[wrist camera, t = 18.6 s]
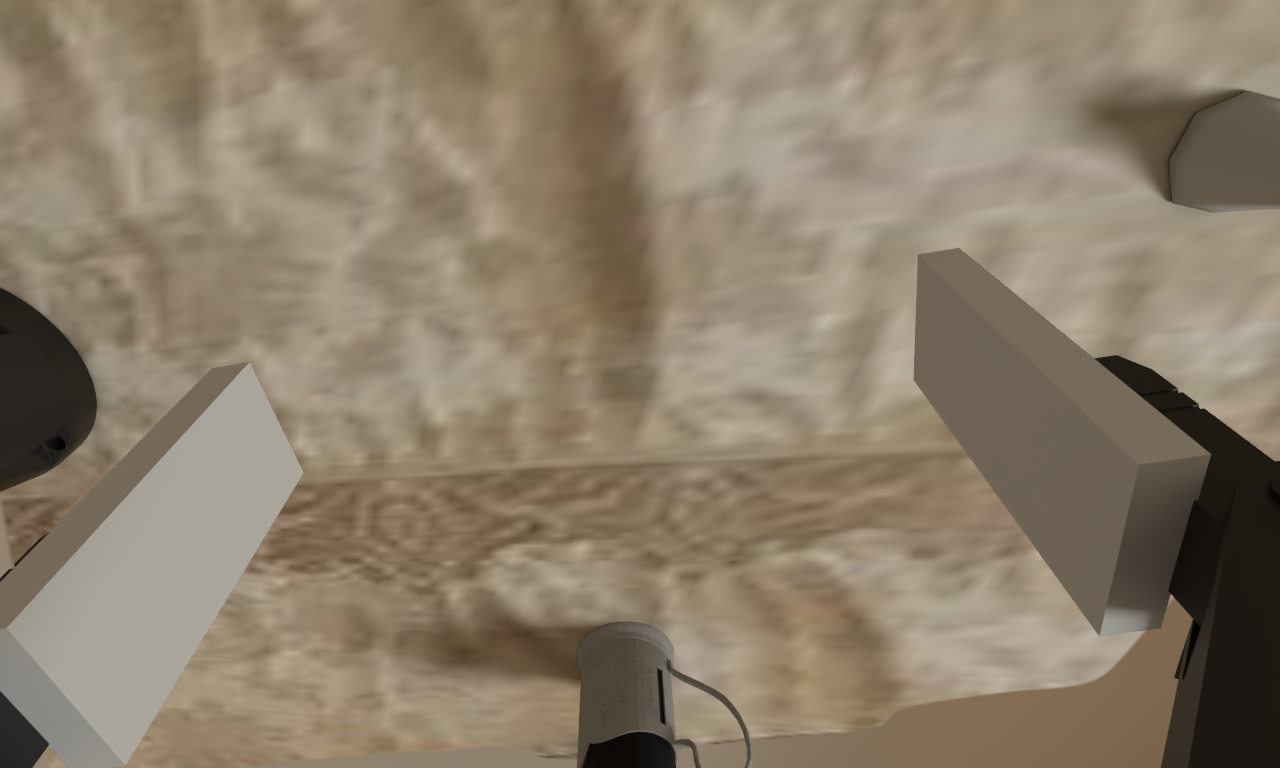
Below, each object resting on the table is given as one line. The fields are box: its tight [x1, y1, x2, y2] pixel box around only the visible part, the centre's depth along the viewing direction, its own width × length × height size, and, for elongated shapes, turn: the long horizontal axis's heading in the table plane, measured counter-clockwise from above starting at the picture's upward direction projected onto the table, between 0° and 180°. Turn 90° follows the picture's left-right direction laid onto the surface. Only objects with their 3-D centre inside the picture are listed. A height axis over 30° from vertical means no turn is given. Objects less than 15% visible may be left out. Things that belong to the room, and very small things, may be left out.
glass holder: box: [577, 622, 753, 768], centre depth 59 cm, size 9×14×15 cm, turn 108°
